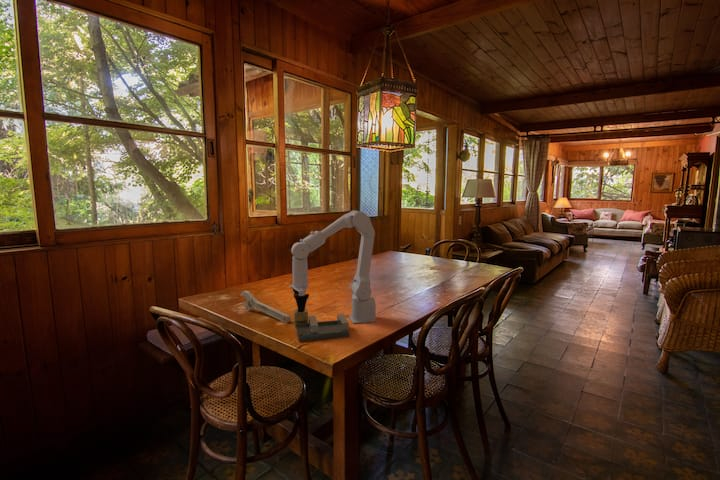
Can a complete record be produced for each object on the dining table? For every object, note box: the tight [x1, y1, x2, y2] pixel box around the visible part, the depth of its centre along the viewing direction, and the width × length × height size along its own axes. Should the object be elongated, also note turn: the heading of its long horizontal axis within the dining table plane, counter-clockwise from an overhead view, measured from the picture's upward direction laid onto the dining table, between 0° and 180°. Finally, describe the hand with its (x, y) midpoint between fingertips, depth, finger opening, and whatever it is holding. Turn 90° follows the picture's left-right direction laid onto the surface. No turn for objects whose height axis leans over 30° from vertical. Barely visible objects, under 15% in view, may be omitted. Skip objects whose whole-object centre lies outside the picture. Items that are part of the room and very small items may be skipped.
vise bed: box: [295, 313, 350, 343], centre depth 136 cm, size 18×12×5 cm, turn 103°
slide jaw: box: [308, 315, 318, 334], centre depth 135 cm, size 2×10×4 cm, turn 13°
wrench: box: [239, 290, 291, 324], centre depth 154 cm, size 8×2×30 cm
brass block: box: [293, 307, 309, 329], centre depth 143 cm, size 5×4×6 cm
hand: (300, 308), depth 143 cm, fingers open, 7 cm apart
